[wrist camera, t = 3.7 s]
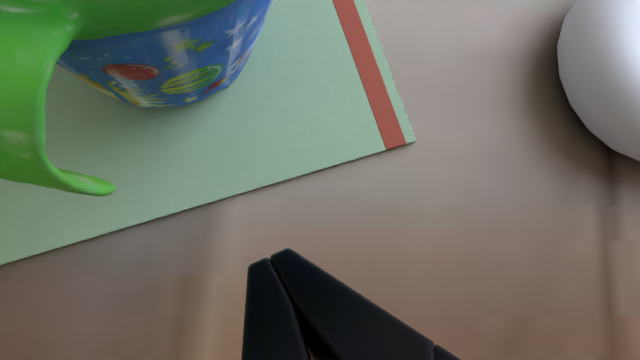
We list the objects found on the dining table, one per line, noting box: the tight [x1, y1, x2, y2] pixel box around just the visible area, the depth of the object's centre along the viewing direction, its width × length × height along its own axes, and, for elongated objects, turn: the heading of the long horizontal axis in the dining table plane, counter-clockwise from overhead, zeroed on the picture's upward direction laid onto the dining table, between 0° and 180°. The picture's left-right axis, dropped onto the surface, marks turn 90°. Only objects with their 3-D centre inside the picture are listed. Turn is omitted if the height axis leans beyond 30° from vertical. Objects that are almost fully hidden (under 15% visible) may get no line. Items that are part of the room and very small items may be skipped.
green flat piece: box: [0, 0, 416, 265], centre depth 17 cm, size 13×24×1 cm, turn 109°
